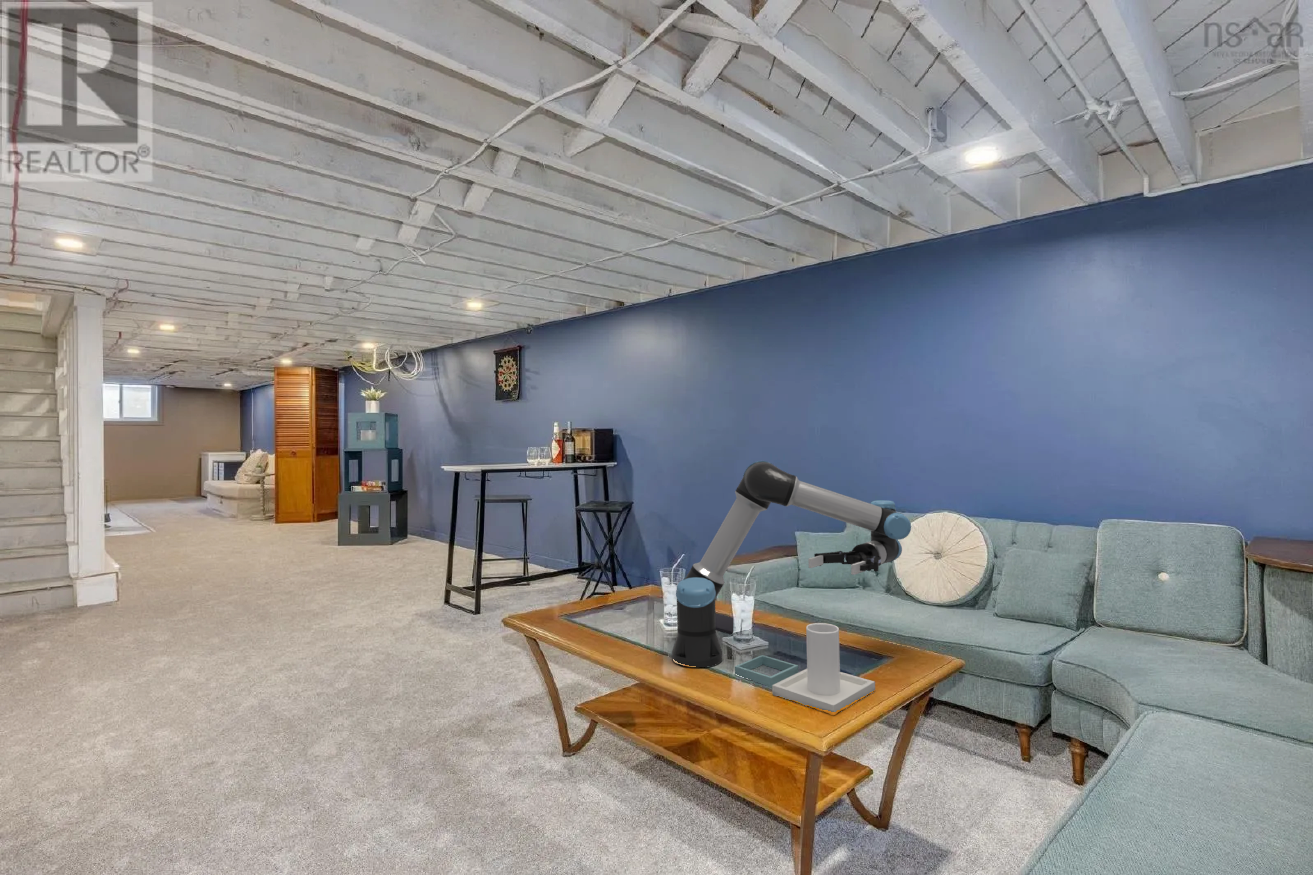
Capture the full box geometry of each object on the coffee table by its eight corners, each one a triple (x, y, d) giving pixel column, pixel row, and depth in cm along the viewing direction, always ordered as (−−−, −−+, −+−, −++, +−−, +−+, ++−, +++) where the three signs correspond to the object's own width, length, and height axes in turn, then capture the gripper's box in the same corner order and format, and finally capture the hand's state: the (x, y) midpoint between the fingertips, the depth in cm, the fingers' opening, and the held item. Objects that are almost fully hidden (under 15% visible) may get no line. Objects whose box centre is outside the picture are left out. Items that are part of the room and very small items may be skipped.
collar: (771, 687, 170) (771, 678, 170) (734, 675, 180) (734, 666, 180) (798, 674, 179) (798, 665, 179) (762, 663, 188) (762, 654, 188)
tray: (834, 715, 153) (833, 705, 153) (772, 694, 166) (772, 685, 166) (875, 691, 166) (874, 681, 166) (815, 673, 179) (815, 664, 179)
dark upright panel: (687, 623, 231) (732, 636, 216) (687, 619, 231) (732, 631, 216) (711, 616, 240) (756, 628, 224) (711, 612, 240) (756, 623, 224)
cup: (804, 683, 170) (803, 623, 170) (835, 682, 170) (834, 622, 170) (811, 695, 162) (809, 632, 162) (843, 695, 162) (842, 632, 162)
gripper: (908, 573, 185) (872, 586, 170) (832, 562, 203) (793, 573, 188) (907, 547, 185) (871, 558, 170) (831, 538, 203) (792, 548, 188)
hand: (830, 566), depth 179 cm, fingers open, 13 cm apart
